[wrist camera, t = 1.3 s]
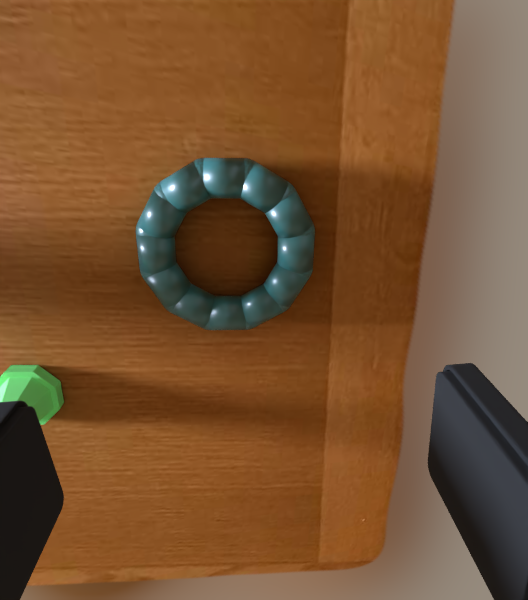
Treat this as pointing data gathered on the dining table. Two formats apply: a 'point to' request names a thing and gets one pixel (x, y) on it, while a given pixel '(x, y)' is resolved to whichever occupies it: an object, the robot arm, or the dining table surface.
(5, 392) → the game piece
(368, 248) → the dining table surface
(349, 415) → the dining table surface
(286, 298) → the ring
